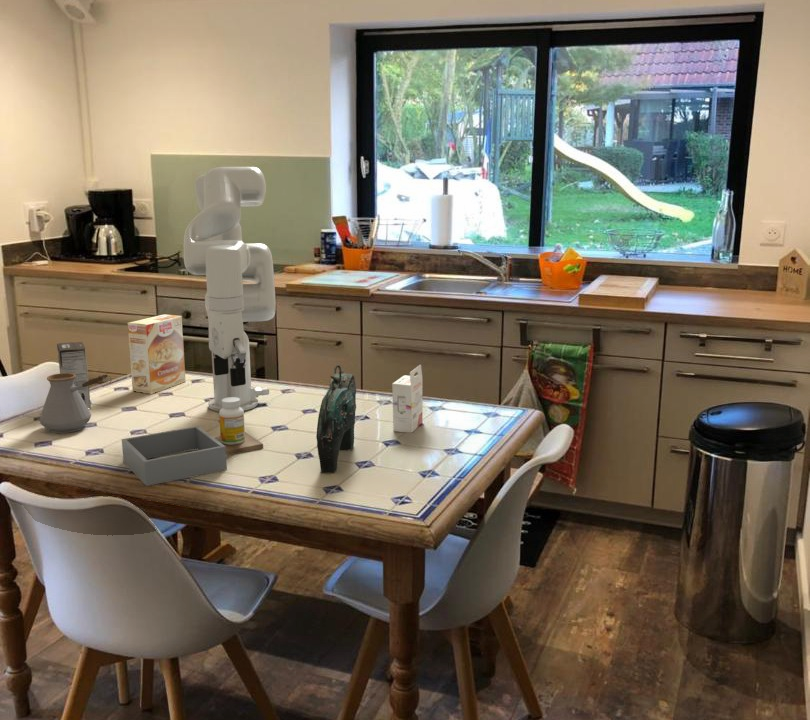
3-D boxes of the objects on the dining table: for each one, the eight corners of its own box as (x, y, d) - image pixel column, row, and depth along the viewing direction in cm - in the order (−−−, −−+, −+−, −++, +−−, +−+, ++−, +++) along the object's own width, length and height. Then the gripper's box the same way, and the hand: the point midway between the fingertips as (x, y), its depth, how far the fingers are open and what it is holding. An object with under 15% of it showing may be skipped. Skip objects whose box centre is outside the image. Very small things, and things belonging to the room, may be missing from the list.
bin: (199, 447, 188) (197, 425, 187) (226, 469, 174) (225, 446, 173) (123, 461, 179) (121, 439, 178) (146, 486, 166) (144, 462, 165)
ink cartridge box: (403, 421, 207) (403, 362, 203) (423, 423, 205) (423, 363, 202) (391, 431, 199) (391, 370, 195) (411, 433, 197) (411, 372, 194)
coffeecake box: (151, 394, 231) (146, 324, 226) (131, 391, 234) (125, 322, 229) (187, 381, 244) (182, 315, 240) (167, 379, 247) (162, 313, 243)
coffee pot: (29, 431, 200) (23, 369, 196) (69, 418, 210) (63, 359, 206) (93, 445, 190) (87, 380, 186) (132, 431, 200) (127, 369, 196)
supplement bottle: (223, 437, 191) (220, 396, 189) (246, 437, 192) (244, 396, 189) (218, 445, 186) (216, 403, 184) (243, 445, 186) (241, 402, 184)
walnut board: (245, 436, 196) (245, 432, 195) (263, 448, 187) (262, 443, 187) (203, 443, 190) (203, 439, 190) (220, 456, 182) (219, 452, 182)
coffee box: (62, 402, 223) (56, 343, 220) (88, 400, 226) (82, 340, 222) (64, 411, 215) (58, 350, 212) (91, 408, 218) (85, 347, 214)
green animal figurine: (336, 442, 191) (334, 356, 186) (364, 444, 190) (362, 357, 185) (311, 473, 172) (308, 378, 167) (342, 475, 171) (340, 379, 166)
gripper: (195, 298, 187) (199, 373, 191) (224, 312, 173) (228, 392, 177) (227, 295, 191) (231, 368, 195) (258, 308, 177) (261, 387, 181)
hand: (229, 379), depth 186 cm, fingers open, 9 cm apart
